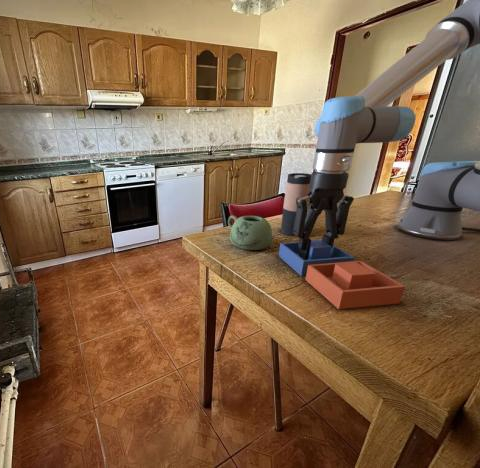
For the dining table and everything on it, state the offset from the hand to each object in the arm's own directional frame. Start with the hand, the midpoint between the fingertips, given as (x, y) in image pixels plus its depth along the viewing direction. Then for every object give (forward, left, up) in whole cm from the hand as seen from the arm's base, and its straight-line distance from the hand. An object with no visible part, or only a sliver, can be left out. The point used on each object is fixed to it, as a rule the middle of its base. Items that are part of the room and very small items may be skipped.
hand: (312, 259), depth 69 cm
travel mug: (-7, -23, -1) cm, 24 cm away
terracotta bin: (0, +13, -1) cm, 13 cm away
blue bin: (0, 0, -1) cm, 1 cm away
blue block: (0, 0, 0) cm, 0 cm away
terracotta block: (0, +13, -1) cm, 13 cm away
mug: (+12, -17, -1) cm, 20 cm away
